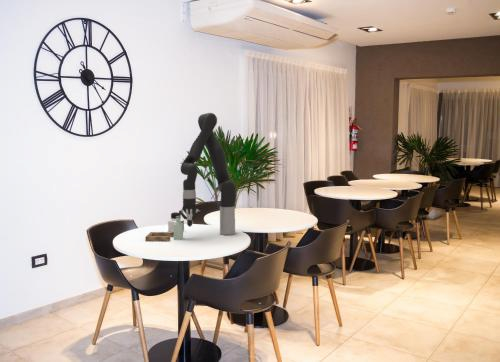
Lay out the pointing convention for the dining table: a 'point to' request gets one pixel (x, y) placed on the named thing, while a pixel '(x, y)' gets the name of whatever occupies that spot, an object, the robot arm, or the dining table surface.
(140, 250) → the dining table surface
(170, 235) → the tray
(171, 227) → the medicine bottle
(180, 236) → the bottle
